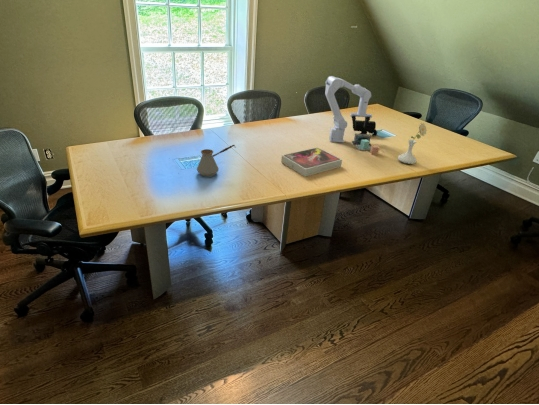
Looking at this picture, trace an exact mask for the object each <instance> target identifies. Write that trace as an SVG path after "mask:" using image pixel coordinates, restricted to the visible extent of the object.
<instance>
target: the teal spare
mask: <svg viewBox="0 0 539 405" xmlns="http://www.w3.org/2000/svg"><path fill="white" fill-rule="evenodd" d="M370 142H371V140H370V141H368V140H367V139H365V140H361V144H360V147H361V148H362V149H368V148H369V143H370ZM370 144H371V143H370Z"/></svg>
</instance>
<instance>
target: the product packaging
mask: <svg viewBox="0 0 539 405" xmlns="http://www.w3.org/2000/svg"><path fill="white" fill-rule="evenodd" d="M280 162H281V163H282V164H284V165H285V166H287V167H289V168H290V169H291V170H294V172H296V173H297V174H299V175H301V176H303V177H304V178H306V177H310V176H312V175H316V174H319V173H324V172H327V171H330V170H334V169H339V168H341V167H342V163H343V159H342V158H340V157H338V156H336V155H334V154H332V153H330V152H329V151H326V150H325V149H323V148H320V147H318V146H317V147H312V148H308V149H304V150H299V151H294V152H291V153H285V154H282V155H281V160H280Z"/></svg>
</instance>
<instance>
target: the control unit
mask: <svg viewBox="0 0 539 405" xmlns="http://www.w3.org/2000/svg"><path fill="white" fill-rule="evenodd" d="M371 137H372V136H371V134H370V133H367V134H360V133H355V134H354V138H353V140H351V143H352V145H354V146H355V145H360V144H361V140H365V139H367V140H368V141H370V142H371ZM369 146H370V147H371V146H372V144H371V143H369Z"/></svg>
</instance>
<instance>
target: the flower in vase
mask: <svg viewBox="0 0 539 405" xmlns="http://www.w3.org/2000/svg"><path fill="white" fill-rule="evenodd" d="M427 131H428V130H427V125H425V123H424V122H423V123H422V122H421V123H420V124H419V125H418V132H417V133H416V135H414V137H413V135H411V136H410V139H408V140H407V142H408V149H407V151H406V152H404V153H402V154H399V155H398V157H397V160H398V161H399V162H401V163H403V164H406V165H407V164H408V165H413V164H415V163H417V158H416V157H415V155H414V154H413V152H412V151H413V148H414V145H415V144H416V143H417V140H415V139H416V138H417V139H418V140H419V139H421V138H422V137H425V136H426V134H427ZM421 136H422V137H421Z"/></svg>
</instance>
